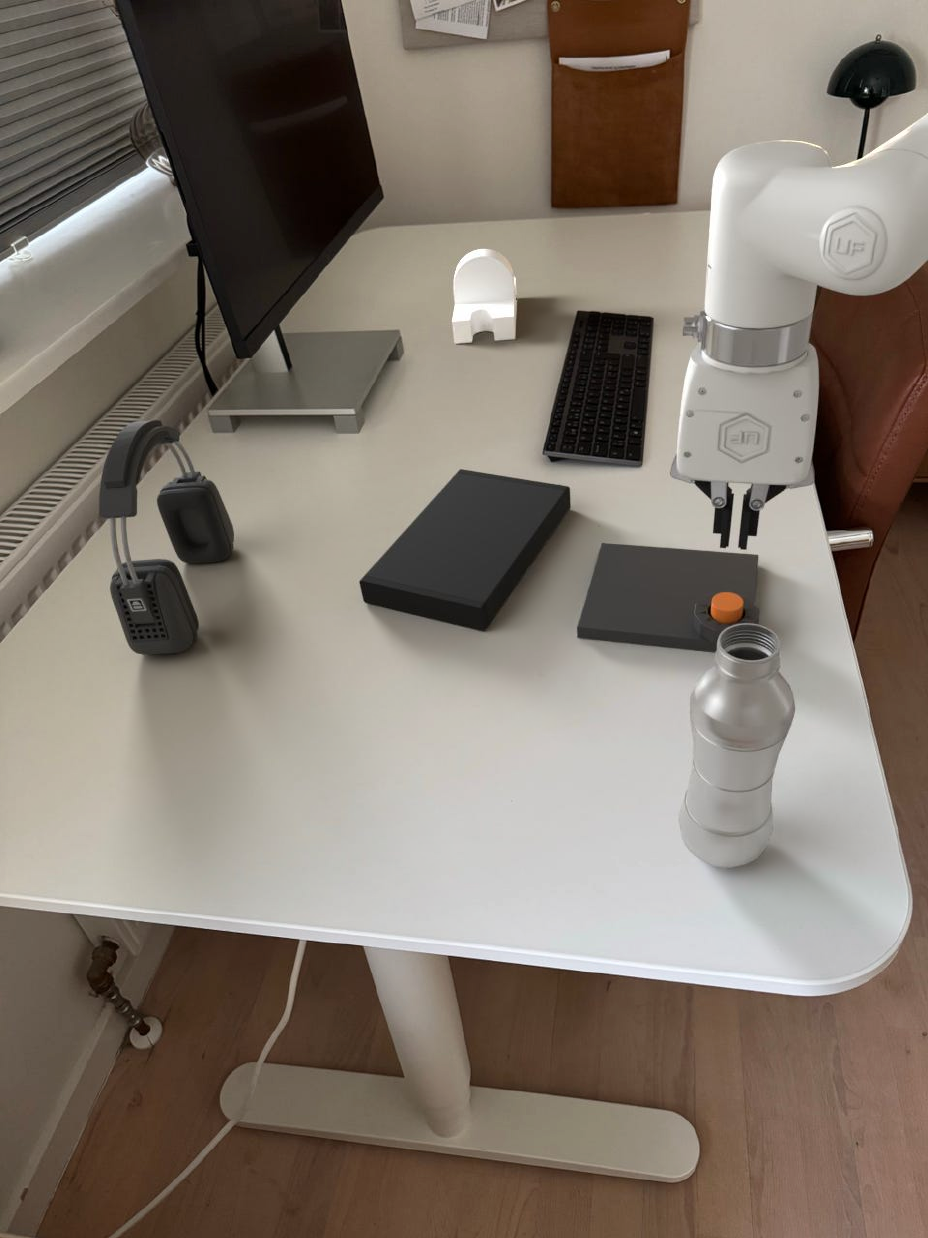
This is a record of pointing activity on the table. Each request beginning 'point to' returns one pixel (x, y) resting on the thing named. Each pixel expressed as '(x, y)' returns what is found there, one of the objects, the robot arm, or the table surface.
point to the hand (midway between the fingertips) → (734, 539)
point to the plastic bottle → (736, 748)
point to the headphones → (194, 524)
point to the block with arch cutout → (484, 297)
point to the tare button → (727, 607)
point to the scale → (664, 595)
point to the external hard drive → (467, 549)
